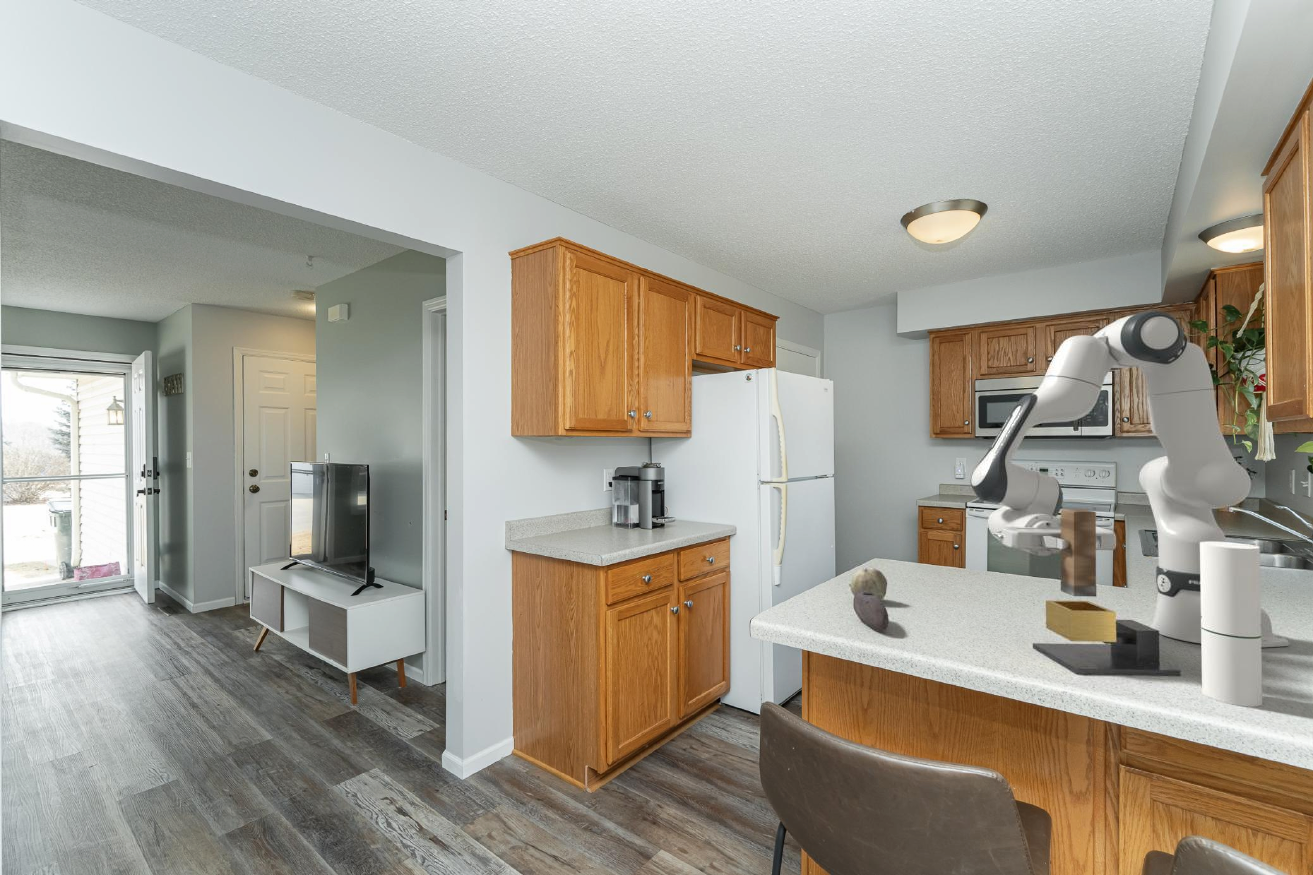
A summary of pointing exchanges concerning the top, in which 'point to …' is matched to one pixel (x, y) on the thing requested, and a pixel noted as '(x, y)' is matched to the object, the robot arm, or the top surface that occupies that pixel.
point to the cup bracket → (1124, 640)
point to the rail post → (1078, 552)
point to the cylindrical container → (1231, 623)
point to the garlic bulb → (869, 582)
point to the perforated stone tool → (870, 610)
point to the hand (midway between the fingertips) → (1081, 545)
